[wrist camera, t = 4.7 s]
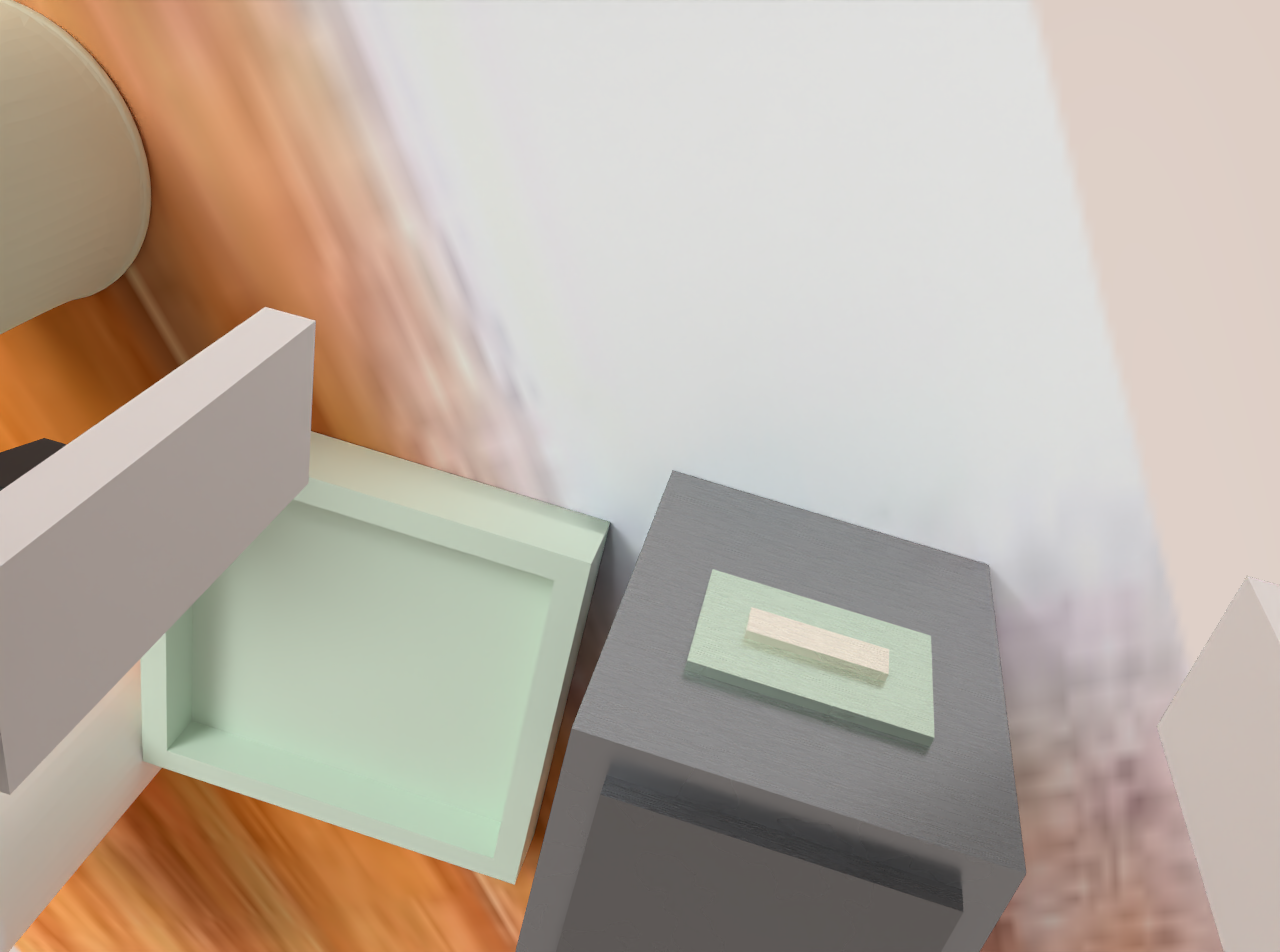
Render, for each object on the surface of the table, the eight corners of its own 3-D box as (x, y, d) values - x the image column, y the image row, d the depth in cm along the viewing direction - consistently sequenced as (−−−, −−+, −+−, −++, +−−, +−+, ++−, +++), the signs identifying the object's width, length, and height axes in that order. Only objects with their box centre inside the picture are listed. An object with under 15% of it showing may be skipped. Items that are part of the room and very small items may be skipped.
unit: (676, 455, 34) (569, 728, 23) (995, 550, 33) (1039, 878, 22) (597, 745, 40) (484, 1067, 29) (863, 831, 39) (847, 1192, 29)
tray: (179, 390, 36) (134, 422, 34) (610, 522, 35) (591, 563, 33) (179, 717, 44) (142, 760, 42) (534, 834, 43) (514, 884, 41)
